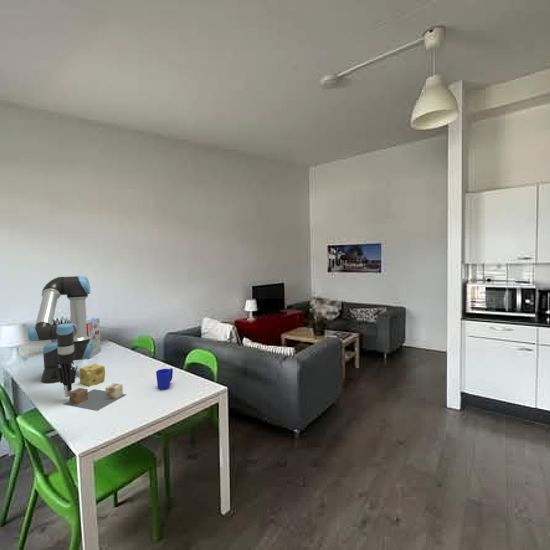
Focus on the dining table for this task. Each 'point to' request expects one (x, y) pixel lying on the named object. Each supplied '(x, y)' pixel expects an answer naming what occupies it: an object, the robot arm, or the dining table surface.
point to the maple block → (114, 391)
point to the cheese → (92, 375)
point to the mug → (164, 378)
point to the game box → (94, 335)
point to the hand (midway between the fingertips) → (68, 396)
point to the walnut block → (78, 396)
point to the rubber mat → (95, 400)
